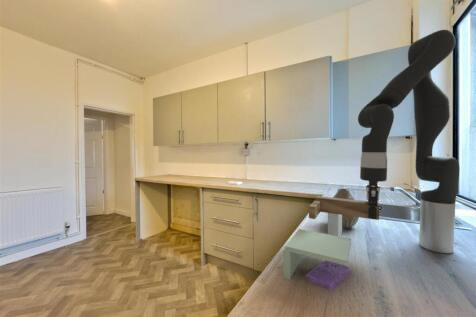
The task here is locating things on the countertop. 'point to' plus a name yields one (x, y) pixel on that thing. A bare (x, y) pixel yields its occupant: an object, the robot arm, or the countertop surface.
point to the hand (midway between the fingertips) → (371, 216)
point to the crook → (340, 207)
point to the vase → (346, 220)
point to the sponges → (328, 274)
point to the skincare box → (334, 224)
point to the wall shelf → (314, 249)
